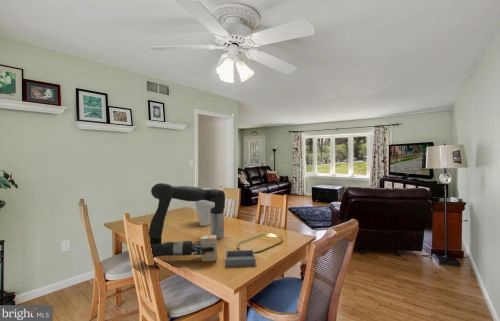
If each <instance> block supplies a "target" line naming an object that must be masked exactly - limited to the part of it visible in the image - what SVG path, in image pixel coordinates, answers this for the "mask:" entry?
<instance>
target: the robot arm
mask: <svg viewBox="0 0 500 321" xmlns="http://www.w3.org/2000/svg"><path fill="white" fill-rule="evenodd" d="M205 189H206V188H205ZM205 189H202V188H200V187H196V186H189V185H188V186H187V185H184V186H183V185H182V186H180V185H177V186H173V185H171V184H169V183H162V182H159V183H156V184H154V185H153V186H152V187H151V189H150V194H151V195H152V197H153V198H155V199H156V200H158V205H157V209H156V210H155V213H154V215H153V216H152V218H151V220H150V223H149V229H148V234H149V236H148V238H149V239H150V244H151V248H152V254H153V257H152V258H159V257H164V256H169V257H170V256H176V257H178V256H179V257H181V256H182V257H184V256H191V255H193V256H198V255H199V256H201V254H205V253H206V252H213V251H214V248H213V247H207V248H206V247H203V246H201V240H197V241H196V243H193V241H192V240H179V241H167V242H163V243H162V235H163V230H164V224H165V221H166V220H165V219H166V216H167V213H168V210H169V207H170V204H171V201H172V199H175V200H179V201H183V202H184V201H185V202H195V201H200V200H206V201H210V202H213V204H214V206H213V208H211V216H210V235H217V239H219V240H220V239H222V238H224V237H225V215H224V214H225V213H224V212H225V207H226V194H225V191H224V190H222V189H213V188H209V190H205Z"/></svg>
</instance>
